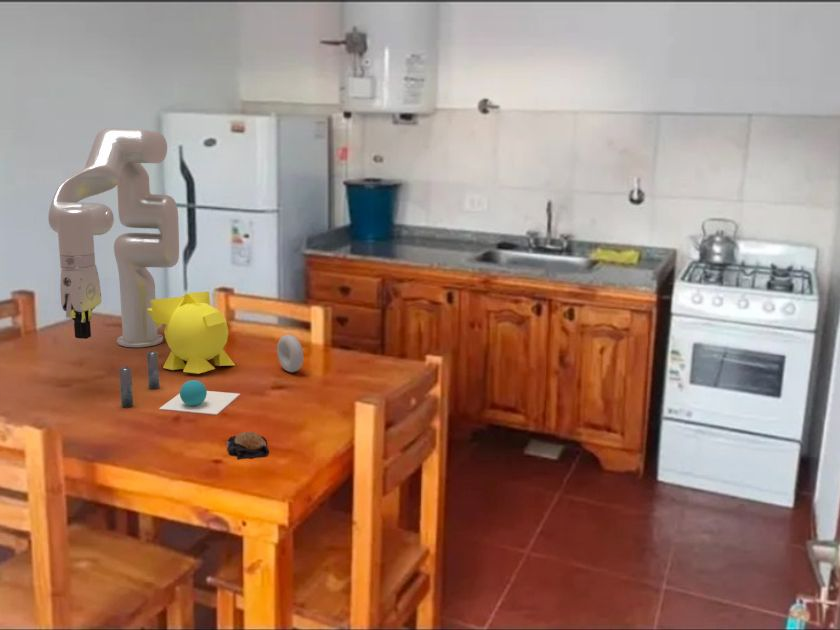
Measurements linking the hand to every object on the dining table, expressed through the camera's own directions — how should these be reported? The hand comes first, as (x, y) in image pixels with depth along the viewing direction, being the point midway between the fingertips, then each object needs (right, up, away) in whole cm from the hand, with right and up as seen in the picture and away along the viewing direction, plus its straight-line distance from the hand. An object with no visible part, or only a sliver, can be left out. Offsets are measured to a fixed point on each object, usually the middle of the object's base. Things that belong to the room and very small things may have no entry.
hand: (83, 337), depth 203 cm
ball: (+27, -13, -5) cm, 30 cm away
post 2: (+15, -12, +7) cm, 21 cm away
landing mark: (+28, -15, -1) cm, 32 cm away
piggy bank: (+20, -8, +25) cm, 33 cm away
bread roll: (+44, -23, -27) cm, 56 cm away
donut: (+46, -10, +22) cm, 52 cm away
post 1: (+12, -16, -5) cm, 21 cm away
